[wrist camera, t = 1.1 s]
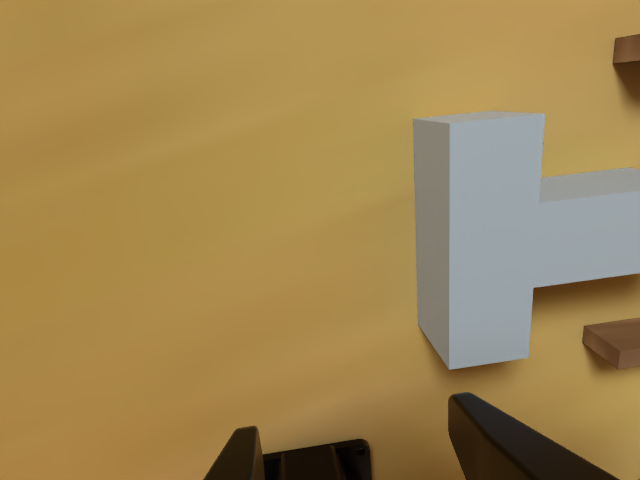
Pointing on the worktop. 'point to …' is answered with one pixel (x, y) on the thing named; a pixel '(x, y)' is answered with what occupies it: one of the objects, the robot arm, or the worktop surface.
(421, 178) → the t block
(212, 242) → the worktop surface
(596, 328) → the dock
